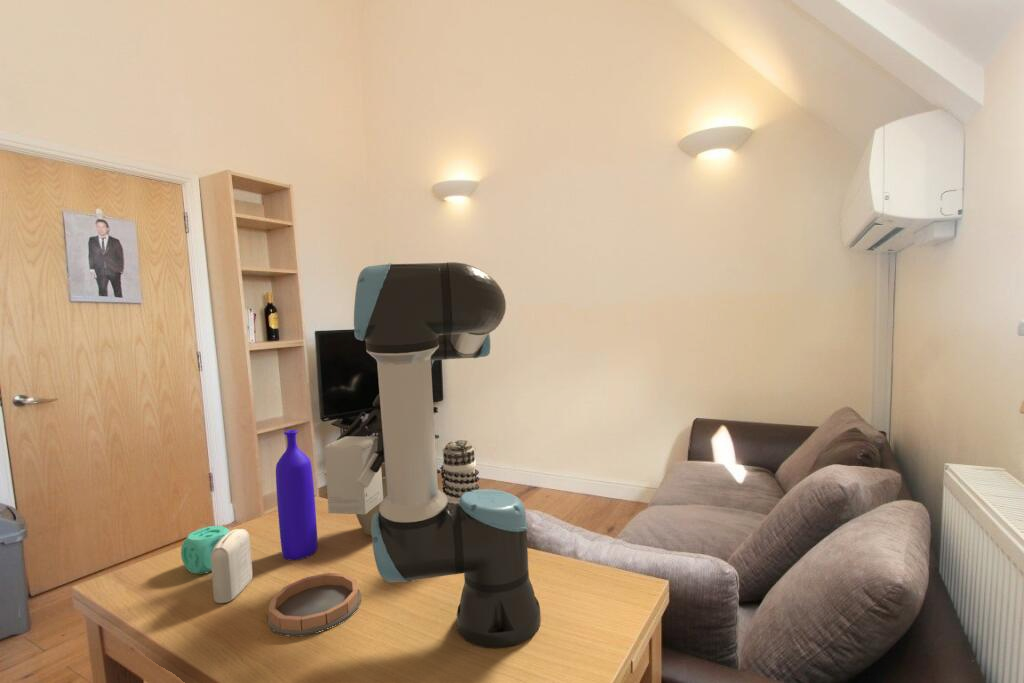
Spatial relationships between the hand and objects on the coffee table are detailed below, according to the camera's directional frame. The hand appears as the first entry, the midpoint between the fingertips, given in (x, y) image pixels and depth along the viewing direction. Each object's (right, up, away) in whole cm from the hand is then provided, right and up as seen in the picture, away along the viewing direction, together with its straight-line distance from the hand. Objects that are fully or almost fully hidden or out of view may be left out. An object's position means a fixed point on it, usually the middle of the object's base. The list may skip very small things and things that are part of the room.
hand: (344, 480), depth 111 cm
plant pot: (+1, -20, +24) cm, 32 cm away
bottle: (-15, -21, +13) cm, 29 cm away
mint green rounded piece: (-35, -23, +9) cm, 42 cm away
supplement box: (+2, -7, +3) cm, 8 cm away
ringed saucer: (-2, -22, -11) cm, 25 cm away
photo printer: (-22, -23, -3) cm, 32 cm away
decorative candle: (+25, -19, +14) cm, 34 cm away
